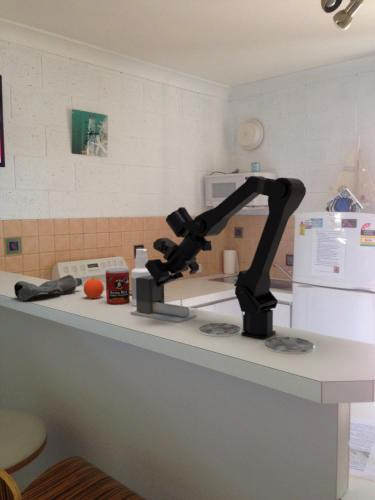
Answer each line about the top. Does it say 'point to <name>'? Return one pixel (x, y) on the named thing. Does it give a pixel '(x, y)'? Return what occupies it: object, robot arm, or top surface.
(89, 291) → the clementine
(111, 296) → the canned food
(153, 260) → the robot arm
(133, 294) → the spray bottle
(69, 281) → the crushed bottle
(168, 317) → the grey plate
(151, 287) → the sleeve
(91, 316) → the top surface
